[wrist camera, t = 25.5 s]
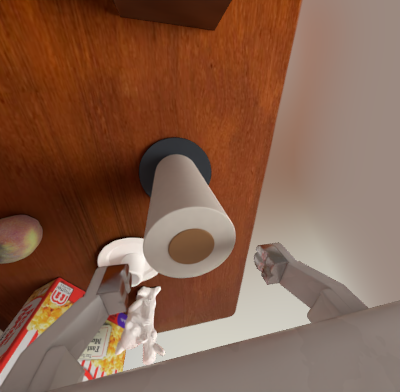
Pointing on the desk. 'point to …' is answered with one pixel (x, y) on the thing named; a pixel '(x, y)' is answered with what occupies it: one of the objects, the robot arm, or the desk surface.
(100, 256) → the candle holder
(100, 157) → the desk surface
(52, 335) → the robot arm
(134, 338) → the koala figurine
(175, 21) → the cradle
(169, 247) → the paper towel roll
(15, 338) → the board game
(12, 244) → the apple
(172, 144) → the coaster
